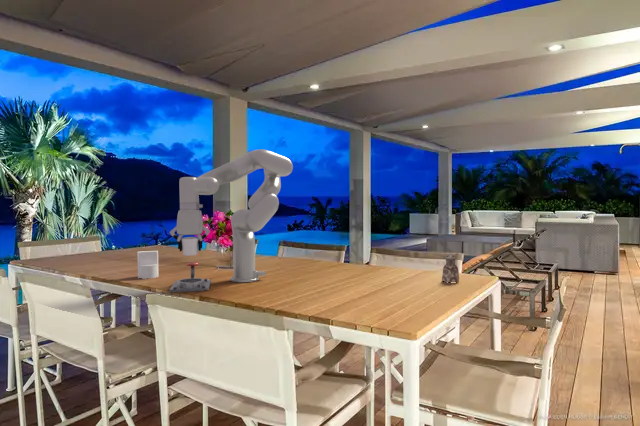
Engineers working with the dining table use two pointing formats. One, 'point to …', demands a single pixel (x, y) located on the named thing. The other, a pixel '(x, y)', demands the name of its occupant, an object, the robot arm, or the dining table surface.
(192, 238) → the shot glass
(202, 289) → the valve body
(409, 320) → the dining table surface
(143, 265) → the base with upright slab
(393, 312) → the dining table surface
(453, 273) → the figurine
